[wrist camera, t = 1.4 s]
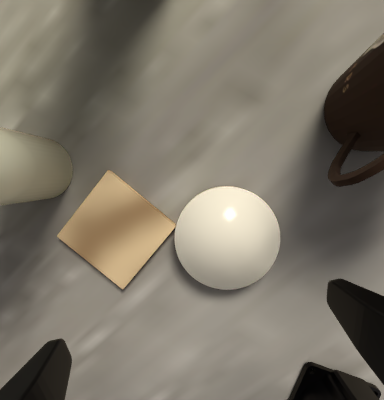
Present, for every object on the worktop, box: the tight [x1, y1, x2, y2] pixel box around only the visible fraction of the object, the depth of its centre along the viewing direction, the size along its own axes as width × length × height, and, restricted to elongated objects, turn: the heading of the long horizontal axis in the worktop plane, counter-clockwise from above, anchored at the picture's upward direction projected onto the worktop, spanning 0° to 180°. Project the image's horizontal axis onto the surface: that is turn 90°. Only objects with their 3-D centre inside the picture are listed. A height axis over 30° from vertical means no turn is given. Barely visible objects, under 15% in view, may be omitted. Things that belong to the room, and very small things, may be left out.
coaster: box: [57, 170, 176, 289], centre depth 19 cm, size 7×7×1 cm
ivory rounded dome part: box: [175, 186, 280, 290], centre depth 18 cm, size 8×8×2 cm
